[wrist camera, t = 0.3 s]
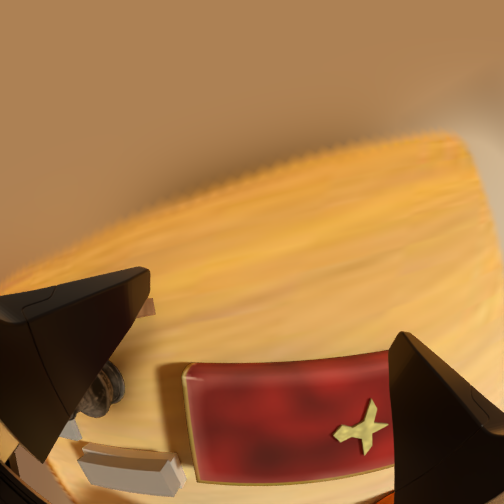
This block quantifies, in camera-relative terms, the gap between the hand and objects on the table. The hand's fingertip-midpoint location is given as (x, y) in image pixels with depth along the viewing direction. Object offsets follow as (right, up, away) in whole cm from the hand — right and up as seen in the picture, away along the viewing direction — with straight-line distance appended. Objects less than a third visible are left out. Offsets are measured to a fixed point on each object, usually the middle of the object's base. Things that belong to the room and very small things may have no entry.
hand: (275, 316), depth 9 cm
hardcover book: (+5, -13, +13) cm, 19 cm away
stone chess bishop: (-16, -11, +14) cm, 24 cm away
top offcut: (-14, -21, +11) cm, 27 cm away
